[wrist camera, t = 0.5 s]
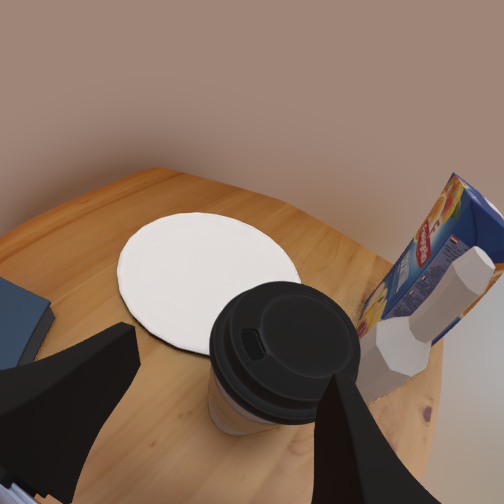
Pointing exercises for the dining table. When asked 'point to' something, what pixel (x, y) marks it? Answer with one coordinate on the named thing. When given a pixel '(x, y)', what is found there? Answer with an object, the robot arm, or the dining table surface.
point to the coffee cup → (277, 356)
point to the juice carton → (438, 254)
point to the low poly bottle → (419, 327)
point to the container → (21, 324)
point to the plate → (194, 273)
